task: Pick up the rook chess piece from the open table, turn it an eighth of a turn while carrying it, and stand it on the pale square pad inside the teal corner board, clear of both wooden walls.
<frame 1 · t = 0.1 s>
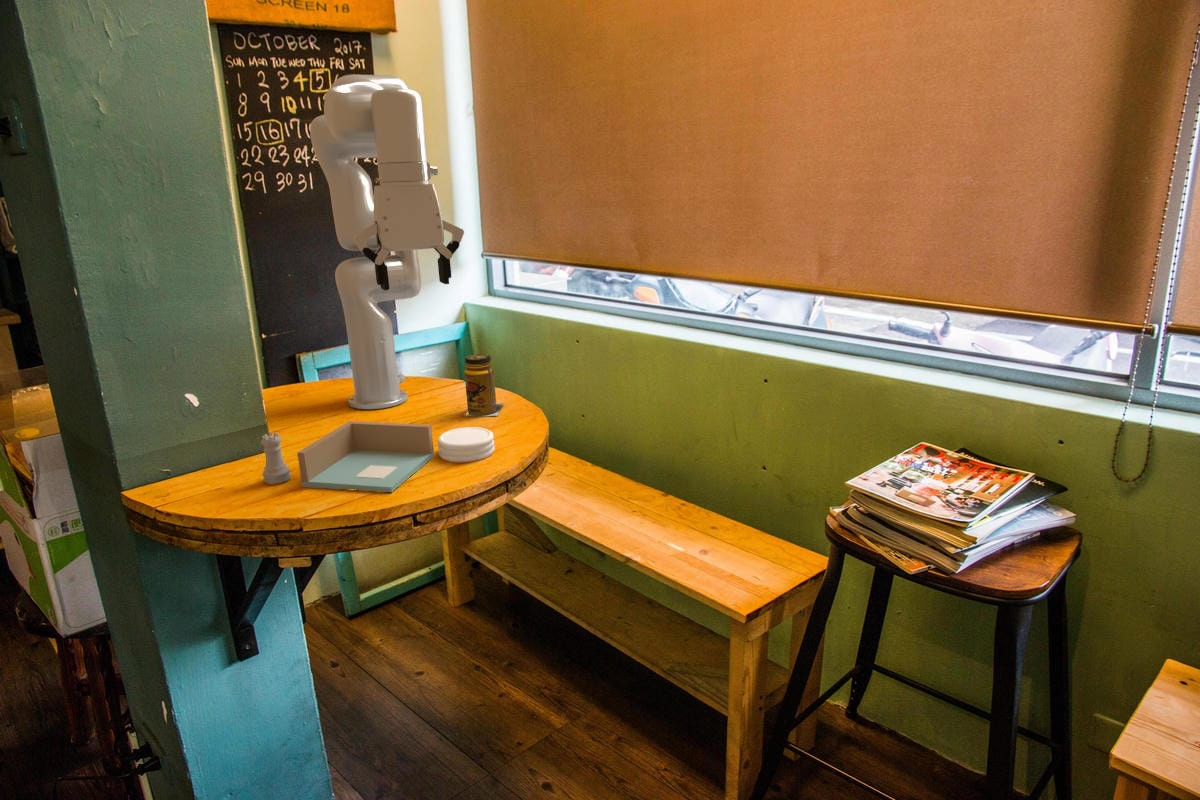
hand: (415, 286, 125), 31 cm above the table, tool pointing down, fingers open, 9 cm apart
corner arena: (371, 471, 133), on the table
rook chess piece: (277, 481, 130), on the table
condiment: (484, 411, 164), on the table
white round container: (467, 454, 140), on the table
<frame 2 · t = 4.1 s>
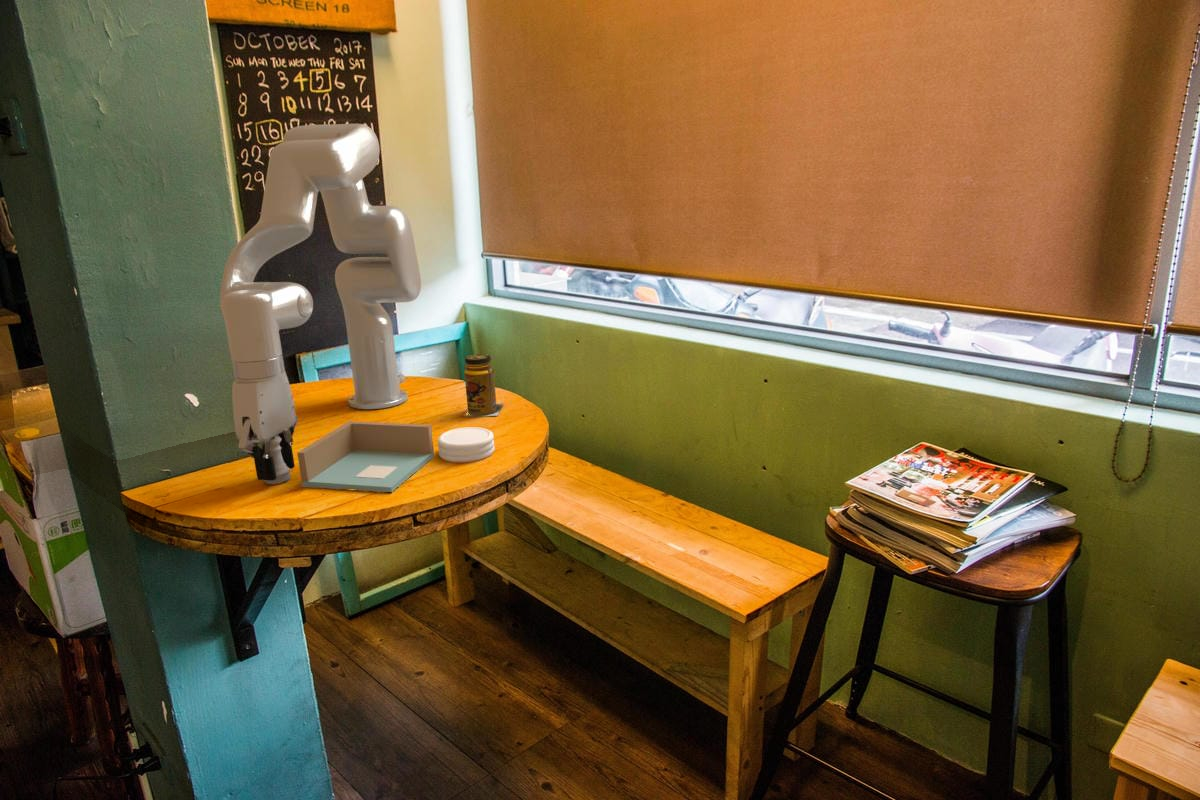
hand: (276, 472, 130), 1 cm above the table, tool pointing down, fingers closed on rook chess piece, 4 cm apart
rook chess piece: (277, 481, 130), on the table, touching gripper
everything else where it was.
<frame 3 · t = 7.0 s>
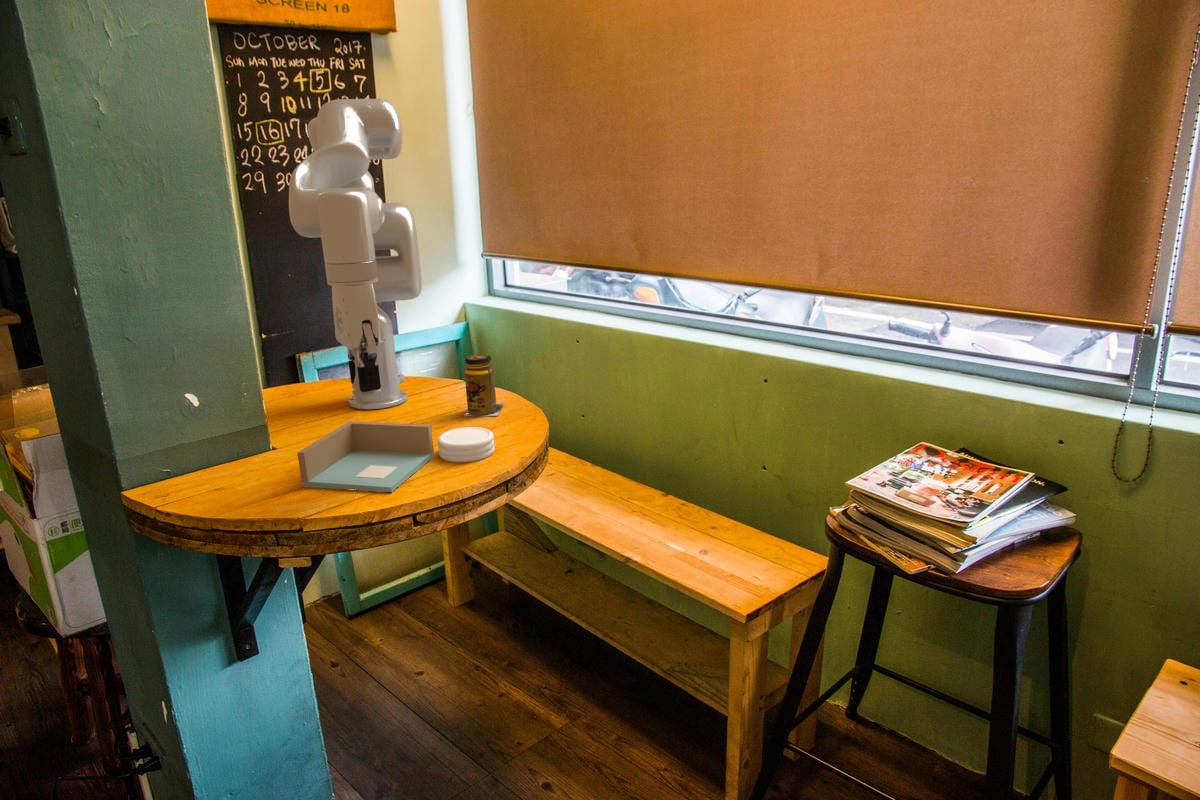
hand: (365, 385, 125), 16 cm above the table, tool pointing down, fingers closed on rook chess piece, 4 cm apart
rook chess piece: (367, 394, 126), point 14 cm above the table, touching gripper
everything else where it was.
when the fingers open (4 cm above the table, at t = 9.8 s): rook chess piece drops 1 cm, resting on corner arena.
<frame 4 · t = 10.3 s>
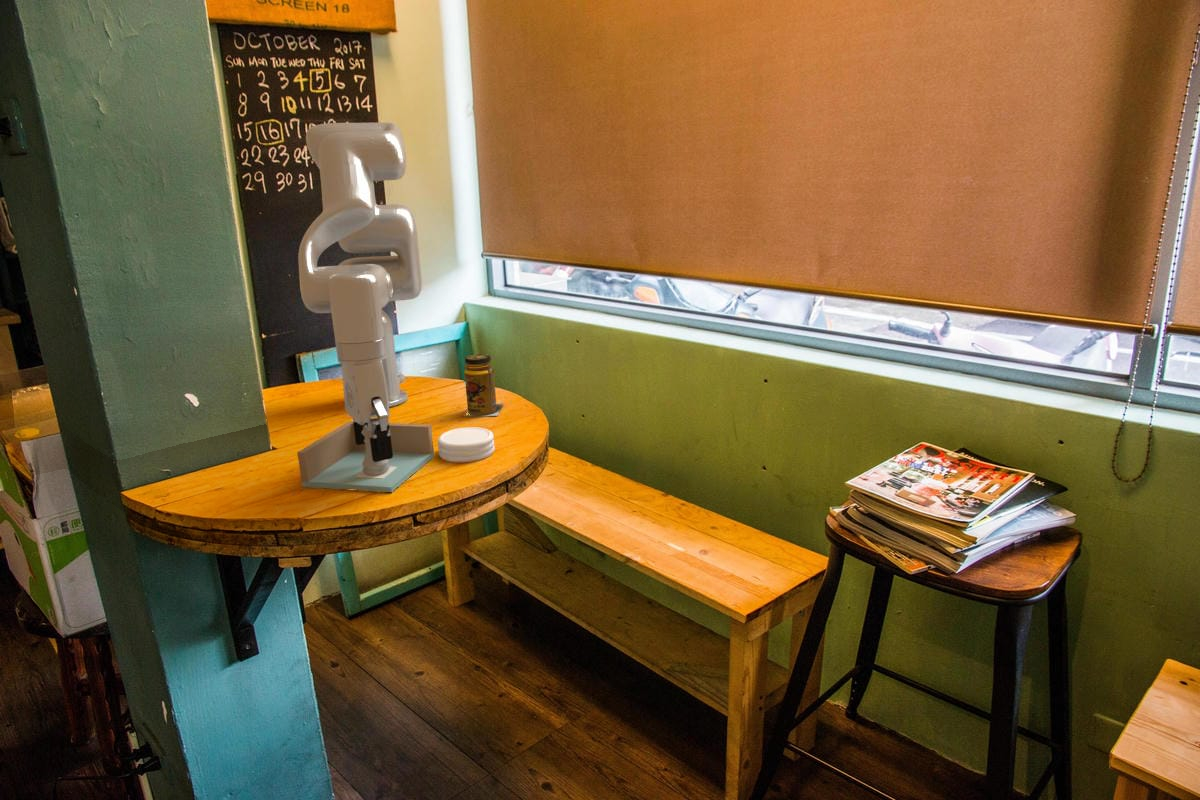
hand: (374, 451, 128), 5 cm above the table, tool pointing down, fingers open, 9 cm apart
rook chess piece: (376, 472, 130), point 1 cm above the table, touching corner arena
everything else where it was.
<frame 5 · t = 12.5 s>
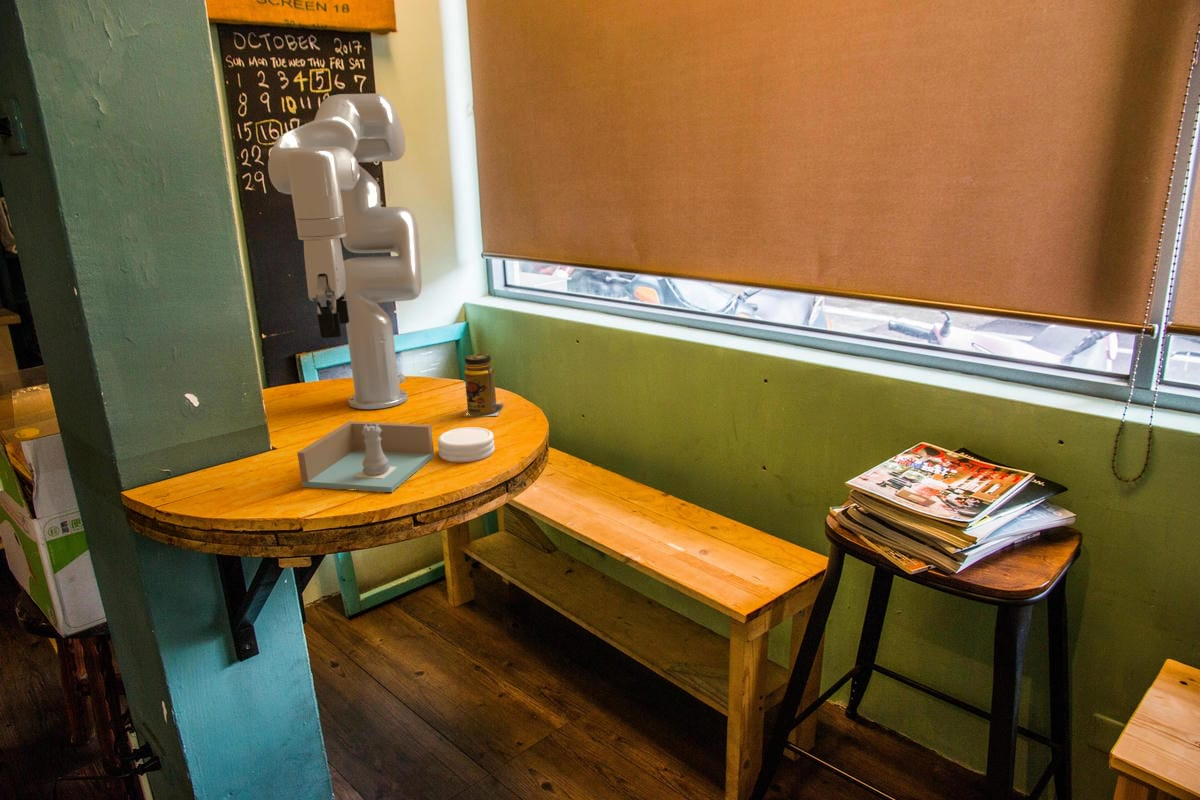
hand: (335, 330, 133), 23 cm above the table, tool pointing down, fingers open, 9 cm apart
nothing on the table moved.
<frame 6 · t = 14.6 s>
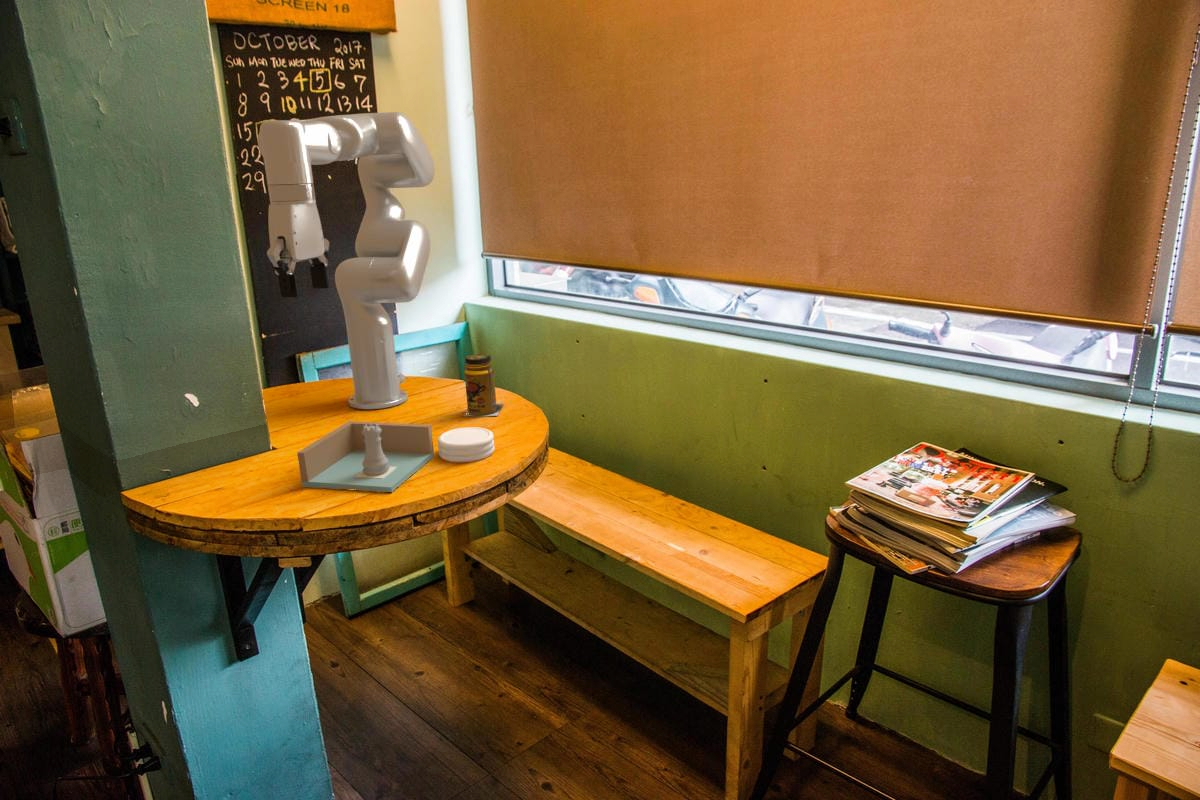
hand: (306, 292, 141), 28 cm above the table, tool pointing down, fingers open, 9 cm apart
nothing on the table moved.
at the end: rook chess piece 0.2 cm from the target spot on the corner arena, point 0.9 cm above the corner arena's base; rook chess piece tilted 0°; the gripper is holding nothing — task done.
